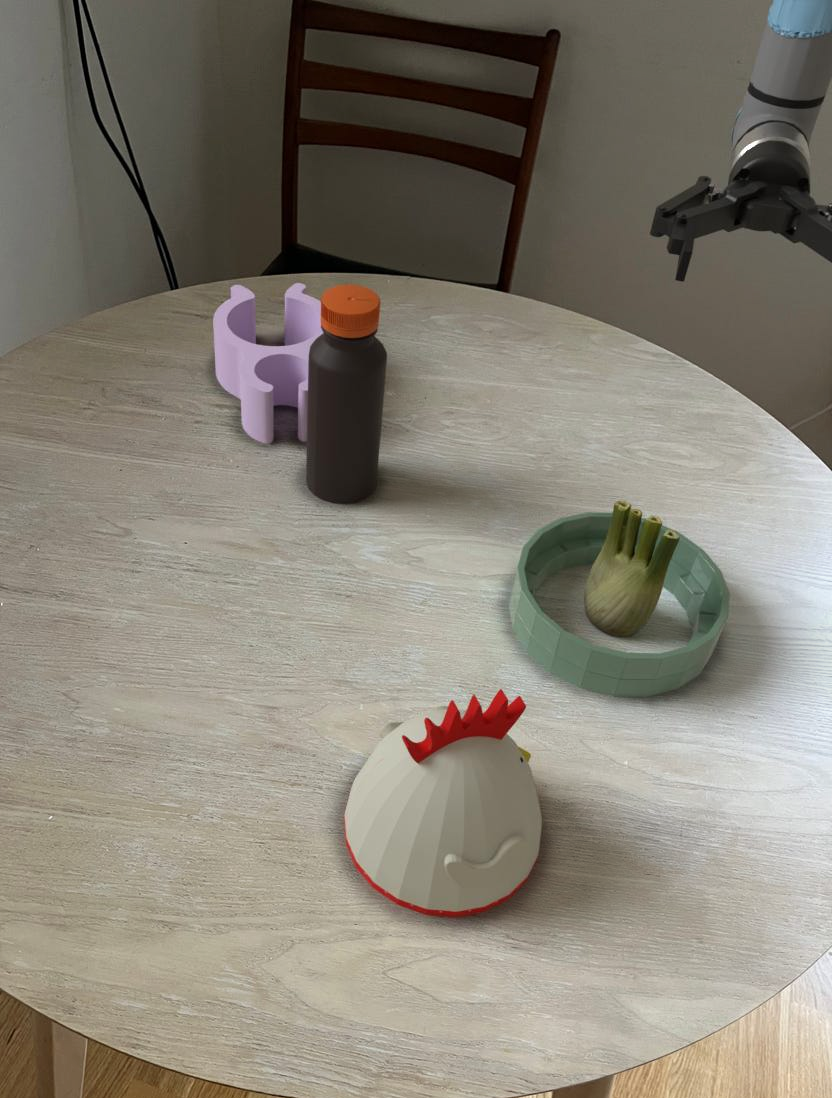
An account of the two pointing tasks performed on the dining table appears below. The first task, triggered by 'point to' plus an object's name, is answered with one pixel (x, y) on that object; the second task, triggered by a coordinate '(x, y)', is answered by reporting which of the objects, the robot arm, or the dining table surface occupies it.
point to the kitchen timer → (446, 810)
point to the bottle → (345, 397)
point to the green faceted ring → (604, 667)
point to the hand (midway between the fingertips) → (764, 280)
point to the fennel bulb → (628, 572)
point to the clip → (266, 359)
